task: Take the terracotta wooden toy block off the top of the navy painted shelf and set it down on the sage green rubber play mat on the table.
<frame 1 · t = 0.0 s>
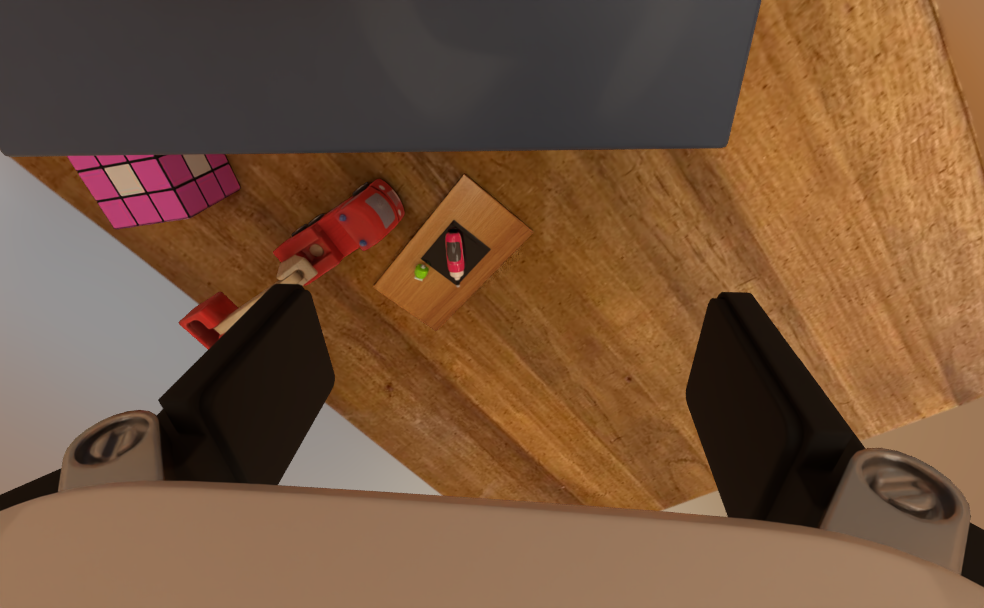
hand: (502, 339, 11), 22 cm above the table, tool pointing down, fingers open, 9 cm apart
board: (449, 259, 35), on the table
puzzle toy: (189, 154, 32), on the table
toy fire truck: (330, 233, 34), on the table
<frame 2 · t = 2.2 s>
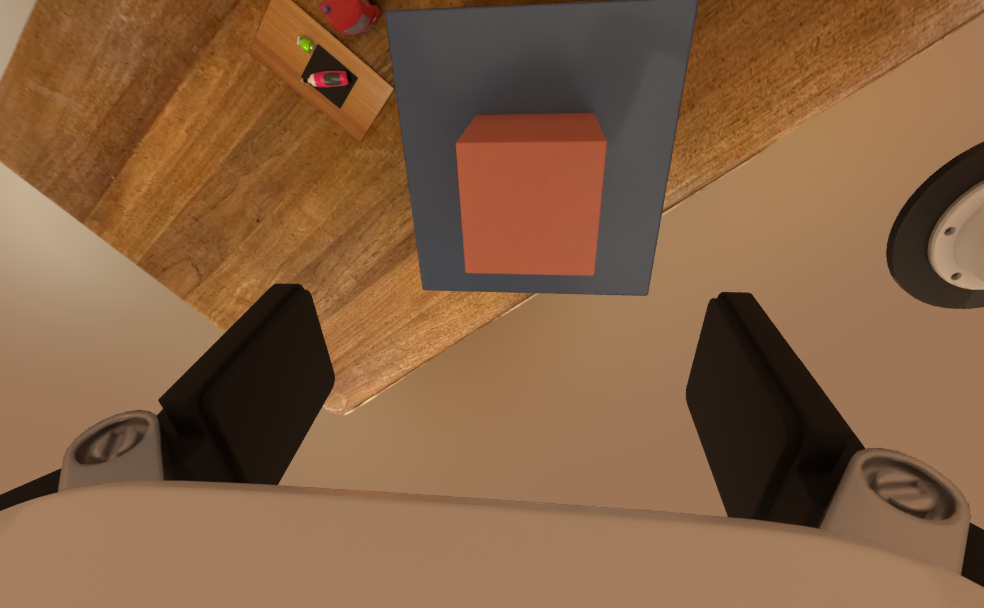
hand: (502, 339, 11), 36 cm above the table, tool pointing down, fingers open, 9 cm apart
toy block: (533, 172, 23), point 22 cm above the table, touching shelf
board: (323, 70, 42), on the table
shelf: (541, 101, 41), on the table
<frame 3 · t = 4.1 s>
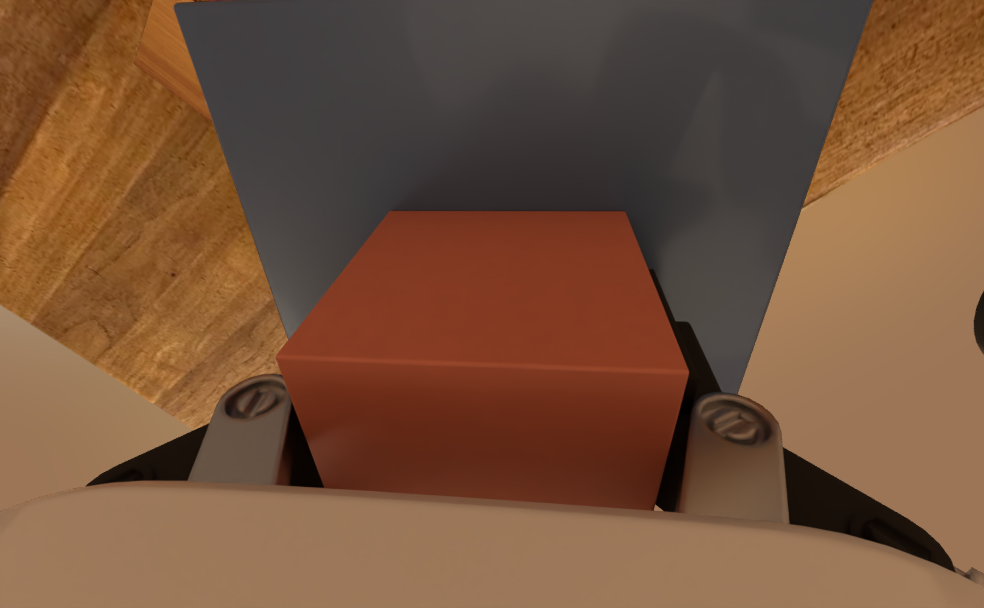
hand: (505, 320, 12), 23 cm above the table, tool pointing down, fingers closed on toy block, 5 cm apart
toy block: (506, 309, 12), point 22 cm above the table, touching gripper, shelf
board: (237, 87, 31), on the table
shelf: (530, 129, 30), on the table
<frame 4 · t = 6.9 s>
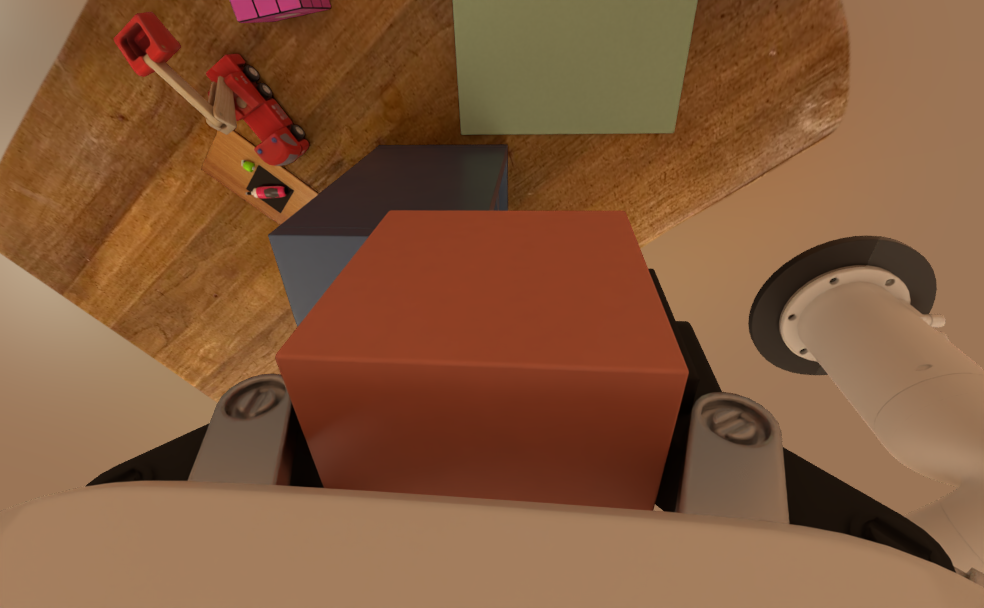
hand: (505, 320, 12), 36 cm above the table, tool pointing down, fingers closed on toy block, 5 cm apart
toy block: (506, 309, 12), point 36 cm above the table, touching gripper
board: (265, 183, 49), on the table
play mat: (569, 49, 40), on the table
toy fire truck: (257, 92, 44), on the table
shelf: (448, 211, 49), on the table
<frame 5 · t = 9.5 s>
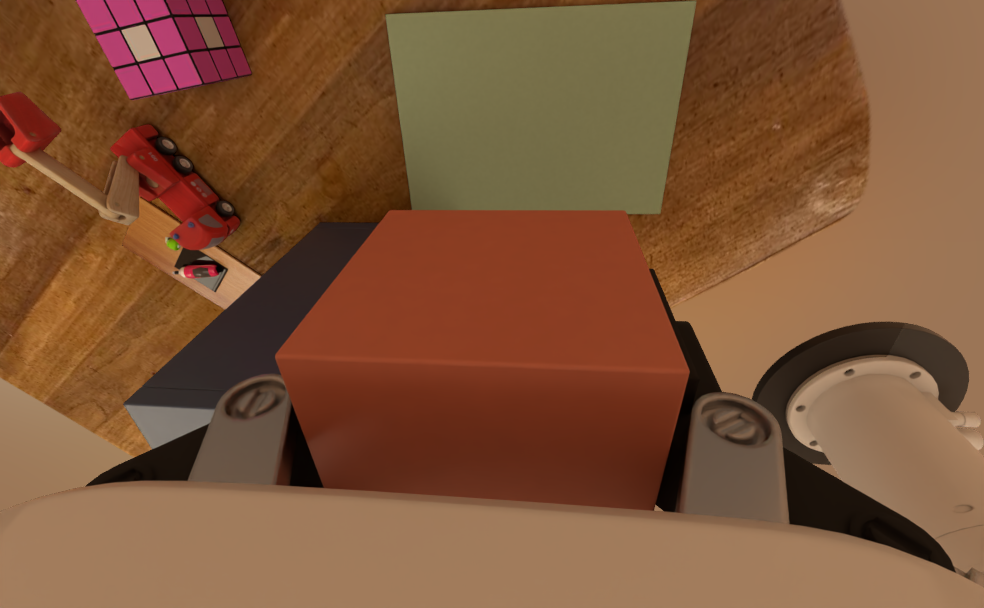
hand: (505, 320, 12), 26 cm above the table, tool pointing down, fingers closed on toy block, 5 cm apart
toy block: (506, 308, 12), point 25 cm above the table, touching gripper
board: (195, 260, 43), on the table
puzzle toy: (202, 38, 33), on the table
play mat: (534, 121, 33), on the table
toy fire truck: (176, 164, 38), on the table
shelf: (403, 292, 43), on the table
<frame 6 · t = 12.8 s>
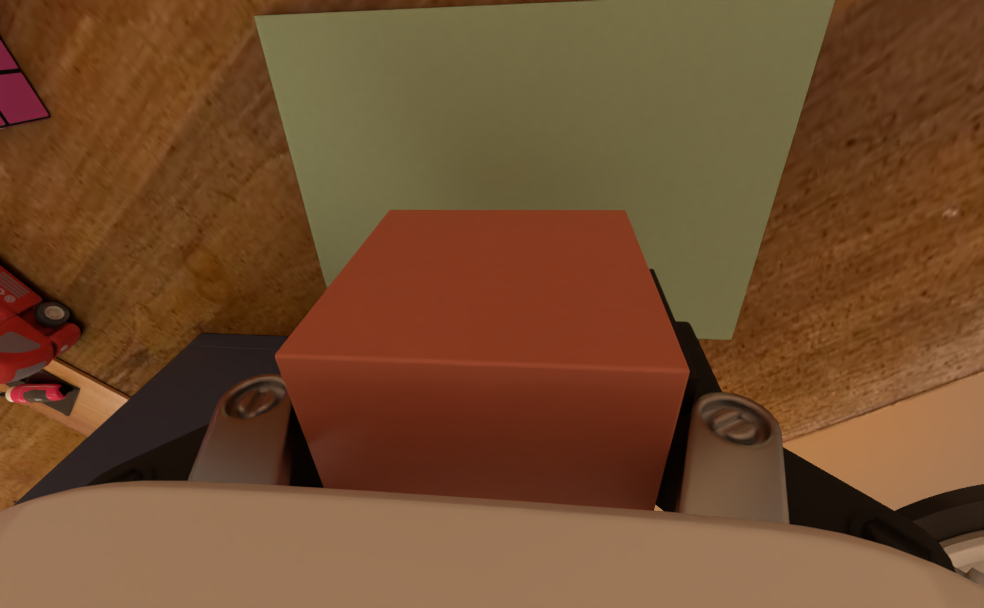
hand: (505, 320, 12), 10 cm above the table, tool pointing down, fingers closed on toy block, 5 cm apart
toy block: (506, 308, 12), point 9 cm above the table, touching gripper
board: (34, 374, 30), on the table
play mat: (525, 197, 20), on the table
shelf: (336, 425, 29), on the table
when the fingers open (1 cm above the table, at t = 15.2 s): toy block stays where it is, resting on play mat.
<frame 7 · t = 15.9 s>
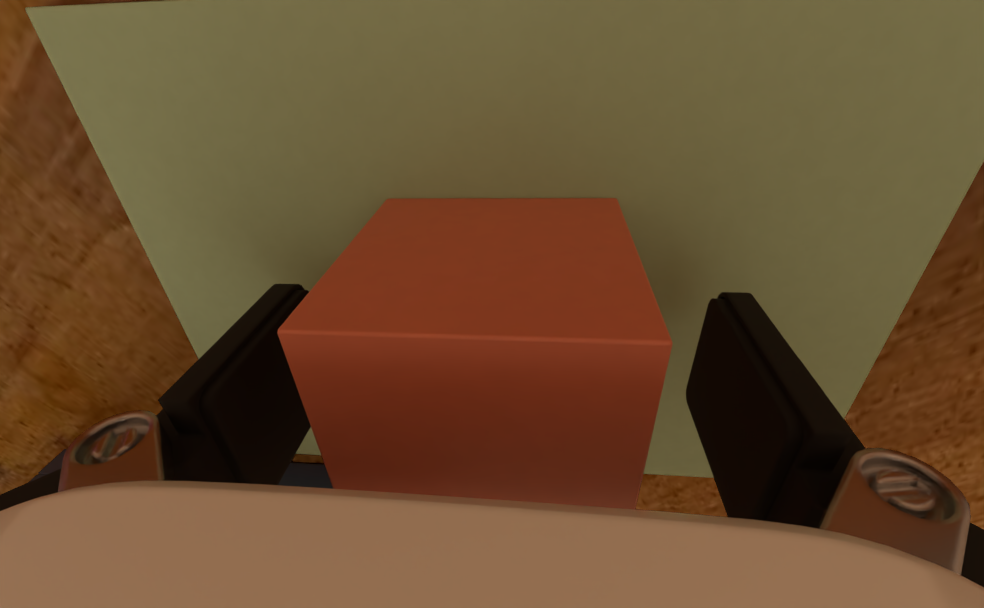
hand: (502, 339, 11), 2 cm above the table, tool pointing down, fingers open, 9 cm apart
toy block: (501, 296, 12), resting on play mat
play mat: (505, 291, 13), on the table
shelf: (264, 552, 22), on the table
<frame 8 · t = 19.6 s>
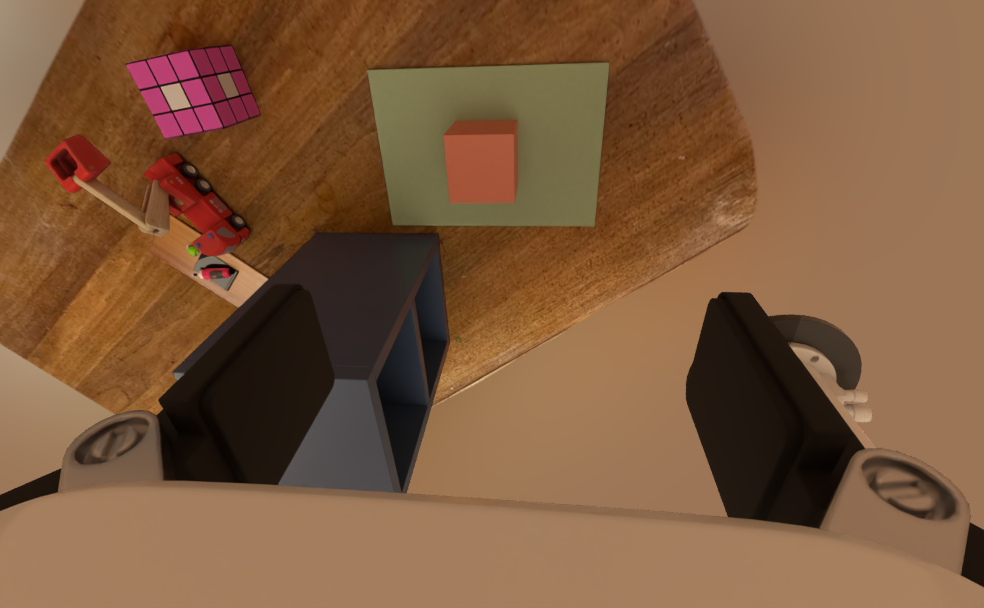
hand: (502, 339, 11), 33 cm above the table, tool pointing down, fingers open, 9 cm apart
toy block: (487, 152, 41), resting on play mat
board: (211, 264, 51), on the table
puzzle toy: (220, 86, 41), on the table
play mat: (488, 152, 41), on the table
toy fire truck: (197, 185, 46), on the table
shelf: (387, 291, 51), on the table
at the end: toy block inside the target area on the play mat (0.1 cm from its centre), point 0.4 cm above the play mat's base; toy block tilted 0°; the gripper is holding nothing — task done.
